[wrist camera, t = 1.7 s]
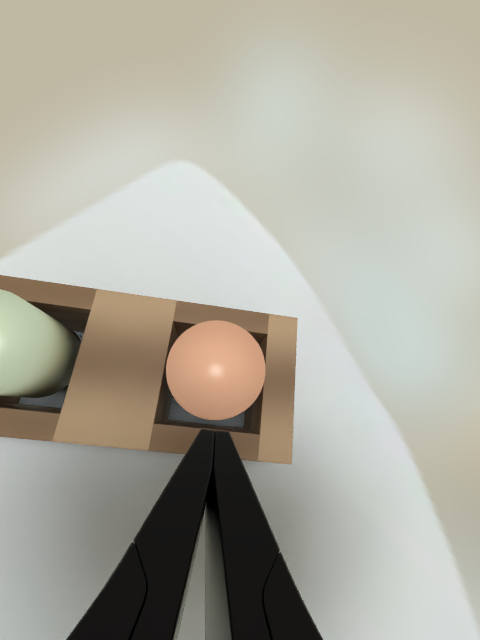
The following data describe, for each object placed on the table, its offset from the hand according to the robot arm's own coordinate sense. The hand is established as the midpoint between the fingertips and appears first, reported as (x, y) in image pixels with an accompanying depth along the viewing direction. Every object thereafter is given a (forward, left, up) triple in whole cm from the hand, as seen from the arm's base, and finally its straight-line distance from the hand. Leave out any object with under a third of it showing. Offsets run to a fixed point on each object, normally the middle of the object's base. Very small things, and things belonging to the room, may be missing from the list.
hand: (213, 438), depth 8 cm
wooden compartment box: (-2, +5, -12) cm, 14 cm away
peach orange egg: (+2, +2, -8) cm, 9 cm away
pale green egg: (-6, +8, -8) cm, 13 cm away
